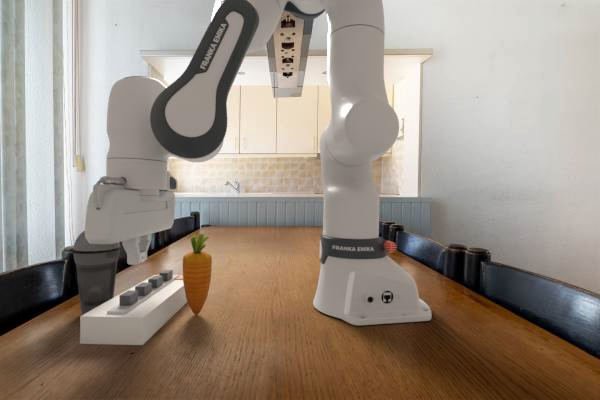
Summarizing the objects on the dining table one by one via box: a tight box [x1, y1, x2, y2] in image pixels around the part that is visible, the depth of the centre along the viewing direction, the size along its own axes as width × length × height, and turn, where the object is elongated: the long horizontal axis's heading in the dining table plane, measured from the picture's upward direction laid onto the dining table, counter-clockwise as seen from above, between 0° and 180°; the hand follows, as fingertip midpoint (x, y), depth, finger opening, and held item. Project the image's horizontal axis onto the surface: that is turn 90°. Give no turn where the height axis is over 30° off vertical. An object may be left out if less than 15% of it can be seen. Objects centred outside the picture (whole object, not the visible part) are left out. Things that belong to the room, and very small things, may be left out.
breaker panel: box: [79, 269, 188, 346], centre depth 54 cm, size 9×22×6 cm, turn 0°
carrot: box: [182, 232, 213, 316], centre depth 54 cm, size 5×5×15 cm
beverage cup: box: [71, 230, 122, 316], centre depth 54 cm, size 7×7×20 cm
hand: (137, 262), depth 50 cm, fingers closed
